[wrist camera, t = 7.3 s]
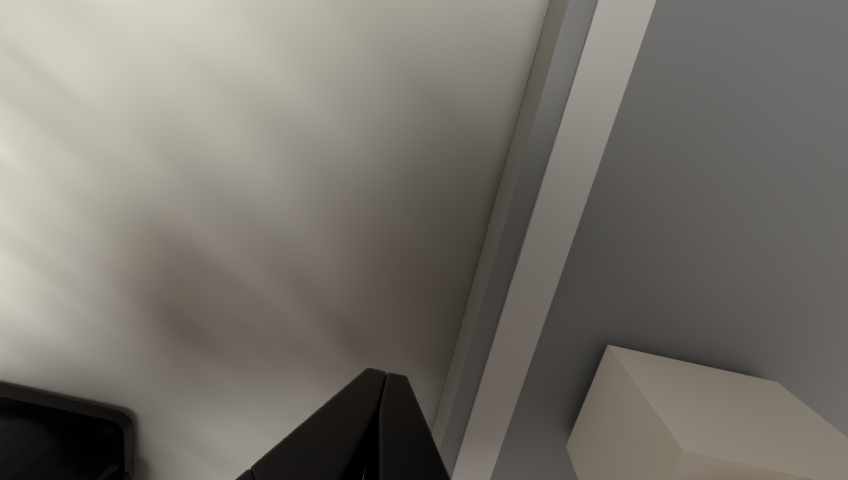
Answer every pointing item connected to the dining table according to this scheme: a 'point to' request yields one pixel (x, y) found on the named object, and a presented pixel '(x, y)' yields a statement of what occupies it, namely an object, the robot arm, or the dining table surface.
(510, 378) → the switch panel
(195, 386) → the dining table surface
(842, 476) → the switch
